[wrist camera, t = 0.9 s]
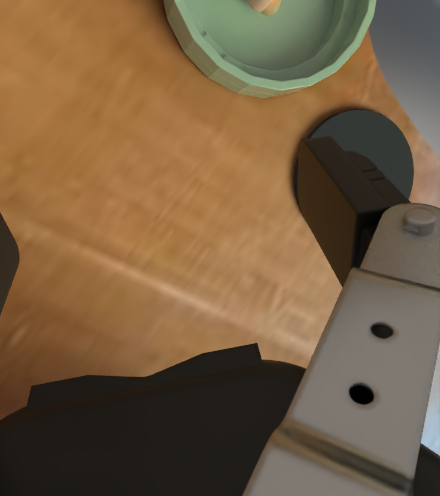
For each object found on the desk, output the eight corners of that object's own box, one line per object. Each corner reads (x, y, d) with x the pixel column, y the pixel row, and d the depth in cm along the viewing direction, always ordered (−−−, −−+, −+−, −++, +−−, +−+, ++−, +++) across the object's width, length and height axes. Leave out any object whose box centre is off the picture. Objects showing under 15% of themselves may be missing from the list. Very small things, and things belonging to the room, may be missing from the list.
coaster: (271, 150, 33) (274, 150, 33) (382, 86, 35) (386, 85, 34) (326, 265, 36) (330, 266, 36) (425, 201, 38) (430, 202, 37)
